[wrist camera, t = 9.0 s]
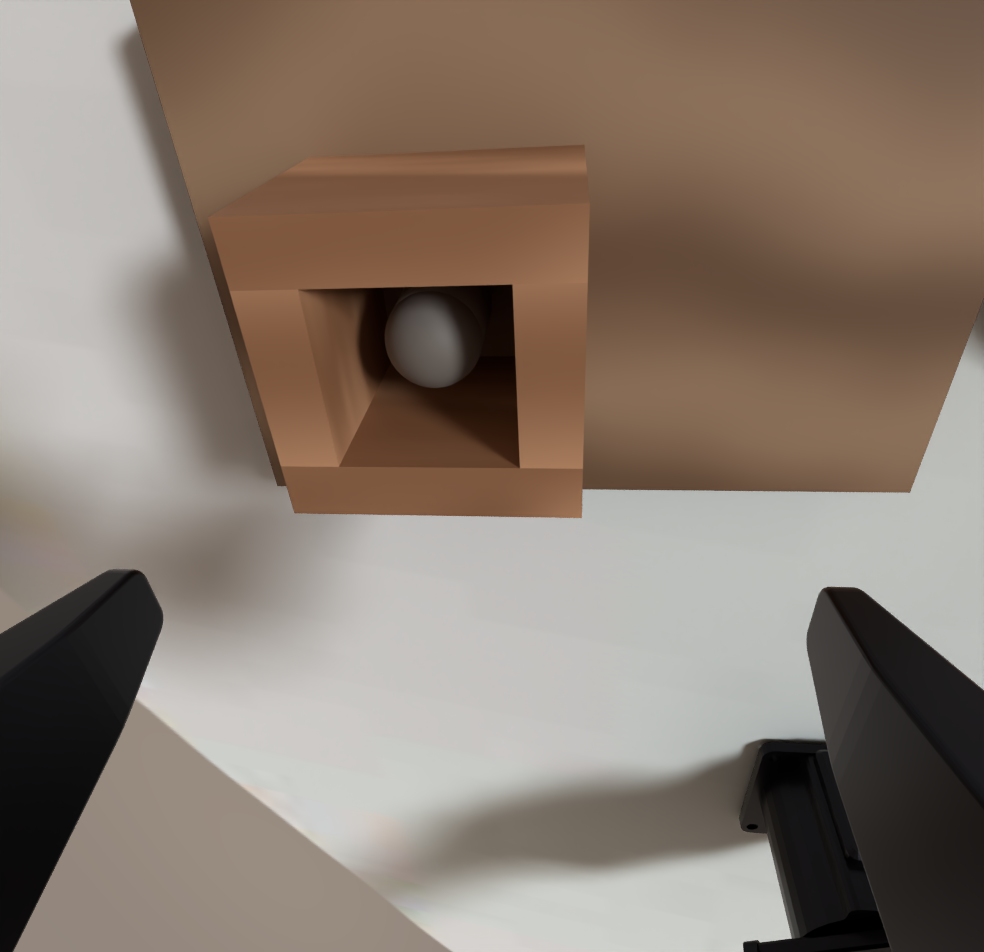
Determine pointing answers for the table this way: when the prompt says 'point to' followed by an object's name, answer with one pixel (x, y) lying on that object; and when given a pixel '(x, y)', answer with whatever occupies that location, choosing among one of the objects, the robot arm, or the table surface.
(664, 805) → the table surface
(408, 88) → the wooden board with peg
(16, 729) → the robot arm
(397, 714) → the table surface
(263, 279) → the bead
